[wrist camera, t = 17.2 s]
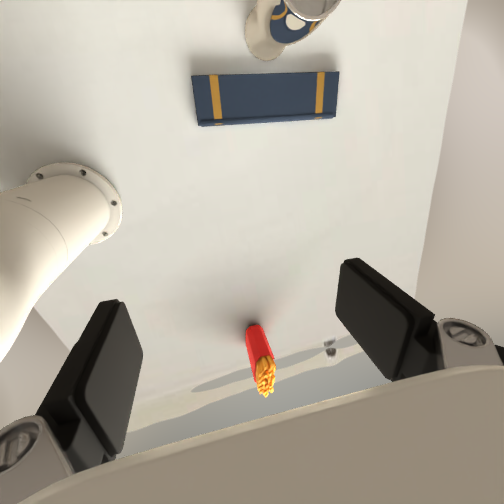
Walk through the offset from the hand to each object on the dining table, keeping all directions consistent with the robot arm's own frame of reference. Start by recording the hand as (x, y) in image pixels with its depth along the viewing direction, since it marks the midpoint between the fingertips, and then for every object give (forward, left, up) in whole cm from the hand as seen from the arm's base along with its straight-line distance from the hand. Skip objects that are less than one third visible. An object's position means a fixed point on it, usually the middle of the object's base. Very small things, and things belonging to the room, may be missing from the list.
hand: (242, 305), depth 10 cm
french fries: (+6, -37, -34) cm, 50 cm away
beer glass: (+11, +18, -34) cm, 40 cm away
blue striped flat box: (+11, +11, -33) cm, 37 cm away
